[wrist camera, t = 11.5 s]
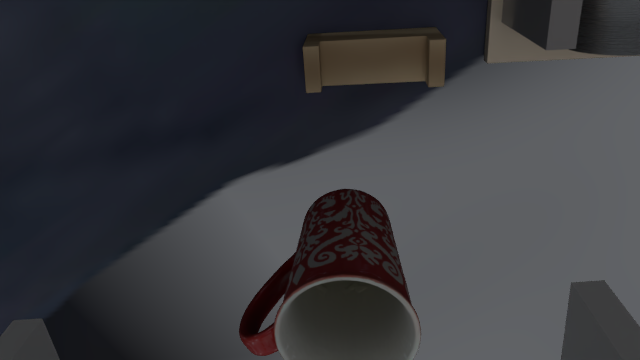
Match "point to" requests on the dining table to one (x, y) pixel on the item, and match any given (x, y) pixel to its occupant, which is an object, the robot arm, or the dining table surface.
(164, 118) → the dining table surface
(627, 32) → the tube
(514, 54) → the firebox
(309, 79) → the rack
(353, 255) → the mug
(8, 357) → the robot arm
